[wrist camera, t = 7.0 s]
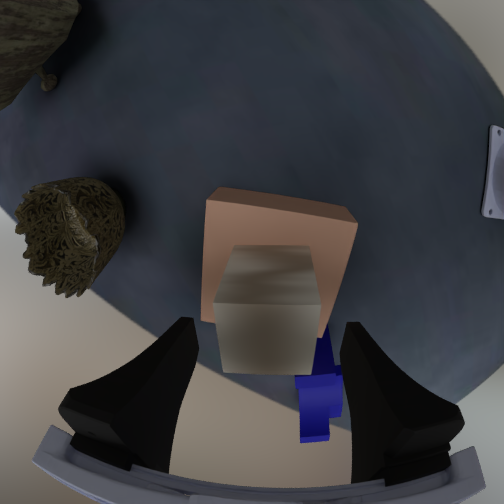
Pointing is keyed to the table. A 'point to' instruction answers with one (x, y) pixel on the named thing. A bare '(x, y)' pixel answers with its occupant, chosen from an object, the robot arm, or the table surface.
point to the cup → (71, 231)
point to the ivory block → (268, 310)
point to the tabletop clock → (31, 41)
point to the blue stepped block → (319, 393)
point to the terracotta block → (276, 238)
